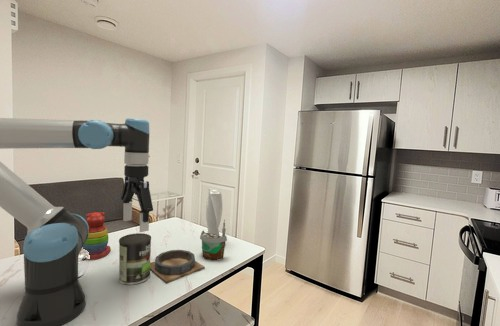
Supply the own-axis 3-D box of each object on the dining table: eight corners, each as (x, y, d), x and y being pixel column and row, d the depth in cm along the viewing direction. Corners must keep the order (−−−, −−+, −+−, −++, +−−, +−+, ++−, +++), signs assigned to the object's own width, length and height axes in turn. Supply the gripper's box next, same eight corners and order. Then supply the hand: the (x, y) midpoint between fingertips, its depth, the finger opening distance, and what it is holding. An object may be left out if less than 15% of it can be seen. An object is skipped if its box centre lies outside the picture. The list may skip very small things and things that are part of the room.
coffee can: (156, 272, 97) (156, 234, 95) (139, 287, 87) (139, 245, 85) (131, 267, 99) (131, 231, 97) (111, 282, 89) (111, 241, 87)
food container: (193, 257, 110) (194, 234, 109) (202, 251, 115) (202, 229, 114) (218, 264, 105) (219, 240, 104) (226, 258, 110) (227, 235, 109)
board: (166, 283, 89) (166, 281, 89) (145, 266, 100) (145, 264, 100) (204, 268, 101) (204, 266, 101) (182, 254, 112) (182, 252, 112)
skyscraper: (214, 251, 117) (216, 189, 114) (200, 246, 121) (202, 187, 119) (225, 245, 124) (228, 187, 122) (212, 241, 128) (214, 184, 126)
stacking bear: (110, 248, 115) (110, 208, 113) (110, 257, 106) (110, 214, 104) (81, 251, 110) (81, 210, 108) (78, 262, 101) (77, 217, 99)
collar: (167, 279, 90) (167, 271, 90) (148, 264, 100) (148, 256, 100) (201, 266, 101) (202, 259, 100) (181, 253, 111) (181, 246, 110)
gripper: (165, 168, 83) (163, 233, 85) (132, 161, 100) (131, 215, 102) (142, 169, 78) (140, 238, 80) (111, 161, 95) (110, 218, 97)
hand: (135, 225), depth 91 cm, fingers open, 13 cm apart
